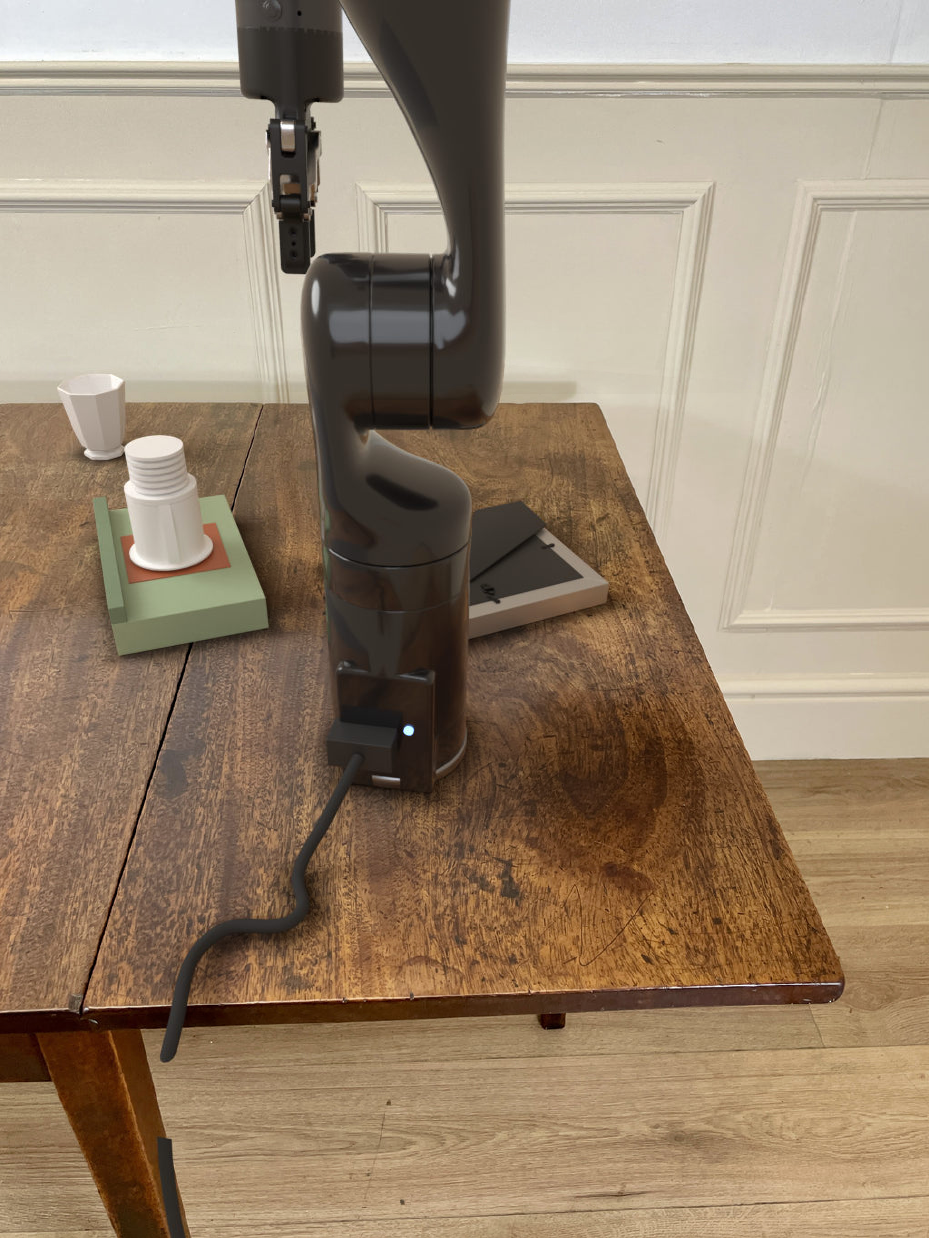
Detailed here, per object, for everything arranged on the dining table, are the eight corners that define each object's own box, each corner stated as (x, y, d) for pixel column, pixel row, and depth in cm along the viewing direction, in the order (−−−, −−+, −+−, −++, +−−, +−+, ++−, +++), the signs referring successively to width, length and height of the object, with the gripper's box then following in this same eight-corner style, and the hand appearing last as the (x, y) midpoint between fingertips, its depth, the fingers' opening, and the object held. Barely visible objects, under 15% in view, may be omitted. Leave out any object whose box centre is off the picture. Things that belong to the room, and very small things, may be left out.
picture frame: (519, 525, 95) (322, 568, 87) (521, 500, 93) (321, 541, 85) (606, 603, 83) (388, 660, 75) (610, 575, 81) (387, 631, 74)
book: (227, 521, 94) (222, 480, 91) (268, 627, 79) (263, 582, 76) (101, 540, 90) (92, 498, 88) (118, 656, 75) (107, 608, 72)
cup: (75, 469, 103) (59, 398, 99) (67, 435, 111) (52, 368, 106) (141, 460, 105) (128, 390, 101) (129, 427, 113) (117, 361, 109)
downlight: (127, 537, 84) (106, 433, 79) (207, 526, 86) (192, 423, 81) (133, 582, 78) (111, 471, 73) (219, 568, 80) (204, 460, 75)
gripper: (340, 22, 62) (345, 281, 69) (344, 34, 74) (348, 253, 82) (223, 15, 61) (241, 278, 69) (247, 28, 73) (260, 250, 81)
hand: (299, 264), depth 75 cm, fingers open, 8 cm apart
